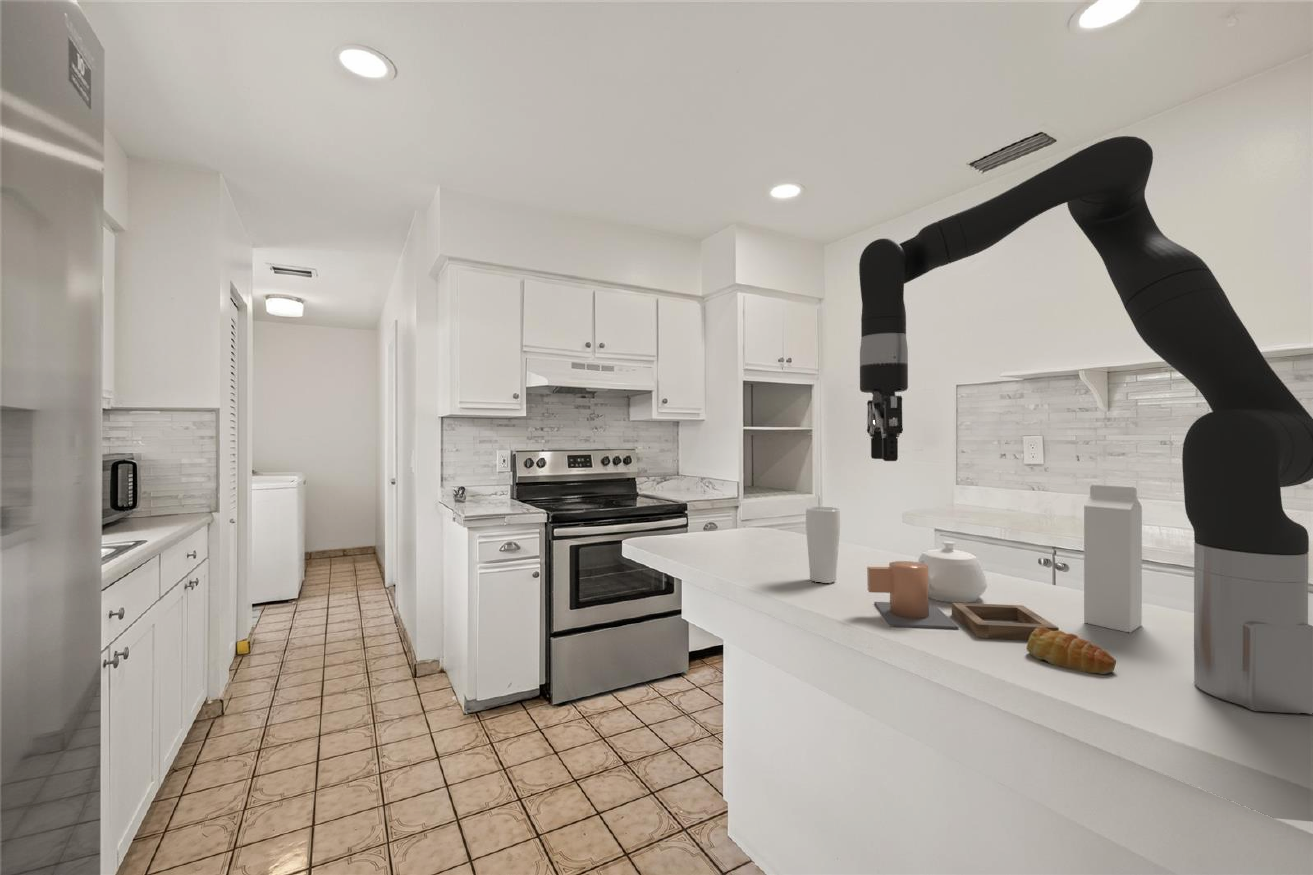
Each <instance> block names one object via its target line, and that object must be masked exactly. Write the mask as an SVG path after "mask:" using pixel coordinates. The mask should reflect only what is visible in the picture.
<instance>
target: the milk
mask: <svg viewBox="0 0 1313 875" xmlns="http://www.w3.org/2000/svg"><path fill="white" fill-rule="evenodd" d="M1089 487H1090V488H1089V489H1090V490H1089V491H1090V492H1089V496H1088V497H1087V500H1086V502H1085V503H1084V505H1083V556H1084V557H1083V570H1084V571H1083V597H1084V598H1083V622H1084V624H1087V623H1088V625H1092V626H1097V627H1103V628H1105V627H1106V629H1110V630H1114V631H1115V630H1116V631H1120V632H1125V633H1128V632H1129V633H1130V634H1131V633H1132V632H1134V631H1135V630H1137V629H1139V627H1141V626H1142V623H1143V622H1142V621H1143V619H1142V618H1143V617H1142V616H1143V615H1142V614H1143V613H1142V612H1143V611H1142V610H1143V609H1142V608H1143V607H1142V606H1143V605H1142V604H1143V601H1142V600H1143V598H1142V597H1143V591H1142V590H1143V588H1142V587H1143V583H1142V582H1143V581H1142V580H1143V569H1142V567H1143V565H1142V564H1143V561H1142V560H1143V536H1142V535H1143V533H1142V532H1143V505H1142V504H1141V502H1140V501H1139V499H1138V497H1137V495H1138V494H1137V491H1138V490H1137V488H1136V487H1135V486H1134V487H1133V486H1116V485H1099V484H1092V485H1090V486H1089Z"/></svg>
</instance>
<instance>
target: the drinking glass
mask: <svg viewBox="0 0 1313 875" xmlns="http://www.w3.org/2000/svg"><path fill="white" fill-rule="evenodd" d="M805 510H806V512H805V513H806V514H805V530H806V531H805V532H806V543H807V544H806V545H807V554H808V563H809V564H808V567H809V579H810V581H812V582H813V581H815V582H814V583H816V582H823V583H829V584H832V583H831V582H834V583H836V581H837V579H838V578H837V574H838V573H837V572H838V559H839V557H838V556H839V546H840V534H841V533H840V532H841V515H840V514H841V513H840V512H841V511H840V508H837V507H833V506H810V507H806V509H805Z"/></svg>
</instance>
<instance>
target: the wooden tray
mask: <svg viewBox="0 0 1313 875" xmlns="http://www.w3.org/2000/svg"><path fill="white" fill-rule="evenodd" d="M951 616H953V617H954V618H955V619H956V620H957V621H959V622H960V623H961V624H962V625H963V626H964V627H965V628H966V629H967V630H969V632H971V633H972V634H973V635H974V636H975V637H976V638H977V639H994V640H995V639H997V640H1015V641H1016V640H1017V641H1018V640H1019V641H1022V640H1023V641H1028V640H1029V637H1030V635H1031V633H1032V632H1033V631H1034V630H1035V628H1037V627H1045V628H1048V629H1049V630H1051V631H1058V630H1059V631H1060V628H1059V627H1058V626H1057V625H1055V624H1053V623H1052V622H1050V621H1048V620H1047V619H1046V618H1043V617H1042V616H1041V615H1039V614H1037V613H1036V612H1034V611H1032V609H1030V608H1028V607H1026V606H1025V605H1024V604H1023V605H1021V604H1020V605H1019V604H996V603H995V604H993V603H990V604H989V603H973V602H968V603H955V602H951ZM983 619H986V620H987V619H988V620H1007V621H1018V622H1003V621H1001V622H999V621H998V622H997V621H985V620H983Z"/></svg>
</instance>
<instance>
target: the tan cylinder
mask: <svg viewBox="0 0 1313 875" xmlns="http://www.w3.org/2000/svg"><path fill="white" fill-rule="evenodd" d="M866 569H867V571H866V573H867V580H866V581H867V591H868V593H879V594H880V593H884V594H886V593H887V594H889V602H890V612H891V613H892V614H894V615H896V616H900V617H904V618H913V619H919V618H926V617H928V616H929V604H930V598H929V576H928V565H926V564H923V563H918V561H908V560H898V561H897V560H895V561H891V562H889V564H888V566H867V567H866Z"/></svg>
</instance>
